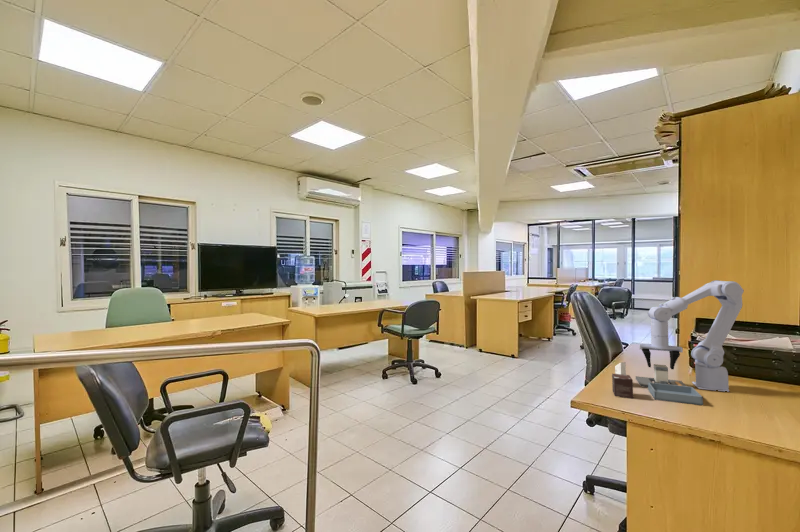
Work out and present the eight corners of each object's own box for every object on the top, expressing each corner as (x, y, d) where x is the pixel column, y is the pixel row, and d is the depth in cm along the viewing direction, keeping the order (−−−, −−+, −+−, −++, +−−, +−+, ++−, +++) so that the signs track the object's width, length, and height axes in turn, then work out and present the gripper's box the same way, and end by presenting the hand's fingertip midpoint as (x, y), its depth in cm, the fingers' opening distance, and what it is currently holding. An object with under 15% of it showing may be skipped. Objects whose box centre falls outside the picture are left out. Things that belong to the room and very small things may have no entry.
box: (630, 393, 132) (629, 374, 132) (633, 399, 127) (633, 379, 127) (612, 391, 135) (611, 373, 135) (614, 396, 129) (614, 377, 129)
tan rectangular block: (665, 384, 141) (665, 365, 141) (668, 387, 138) (667, 367, 138) (654, 382, 143) (653, 364, 143) (656, 385, 139) (655, 366, 139)
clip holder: (681, 383, 142) (681, 376, 142) (689, 392, 132) (689, 384, 132) (635, 378, 149) (635, 371, 149) (640, 386, 139) (640, 379, 139)
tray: (692, 394, 129) (692, 386, 129) (703, 405, 119) (702, 397, 119) (648, 389, 135) (647, 382, 135) (654, 399, 125) (654, 391, 125)
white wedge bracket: (626, 383, 136) (620, 362, 140) (617, 388, 144) (612, 368, 148) (636, 384, 135) (630, 362, 139) (626, 389, 143) (621, 368, 148)
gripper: (678, 334, 141) (679, 367, 141) (636, 332, 147) (637, 363, 147) (683, 338, 134) (684, 371, 134) (640, 335, 141) (640, 367, 141)
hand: (660, 367), depth 140 cm, fingers open, 7 cm apart
